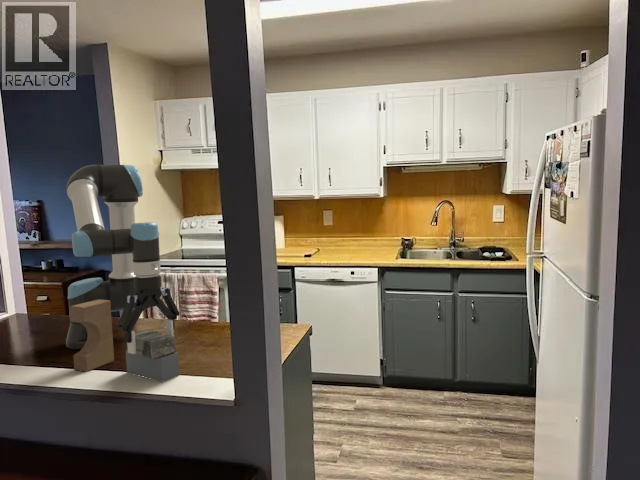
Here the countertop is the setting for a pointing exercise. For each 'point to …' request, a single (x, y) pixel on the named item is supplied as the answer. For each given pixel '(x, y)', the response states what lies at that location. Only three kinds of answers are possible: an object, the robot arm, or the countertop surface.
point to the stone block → (154, 344)
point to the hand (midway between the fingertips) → (151, 346)
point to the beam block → (153, 366)
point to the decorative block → (94, 334)
